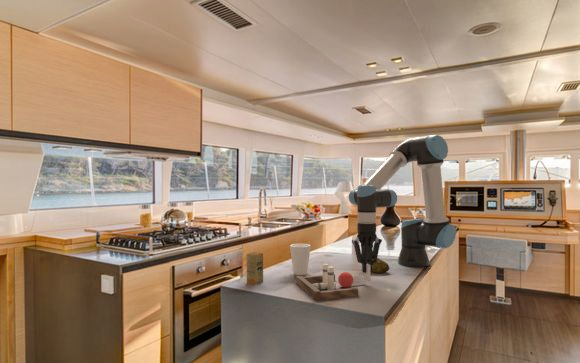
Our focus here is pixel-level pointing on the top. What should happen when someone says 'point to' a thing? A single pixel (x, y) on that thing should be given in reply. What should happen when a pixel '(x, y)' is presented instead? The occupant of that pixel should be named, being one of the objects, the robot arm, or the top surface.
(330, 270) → the pin
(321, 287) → the front pin
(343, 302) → the top surface
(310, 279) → the rail
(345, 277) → the ball
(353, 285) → the thin gray bar
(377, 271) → the potato
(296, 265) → the foam cup
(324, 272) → the pin
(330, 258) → the top surface
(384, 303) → the top surface
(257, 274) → the shoe polish box
